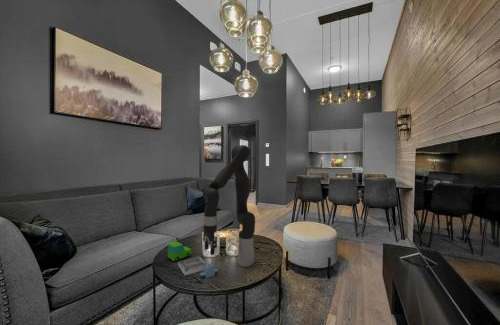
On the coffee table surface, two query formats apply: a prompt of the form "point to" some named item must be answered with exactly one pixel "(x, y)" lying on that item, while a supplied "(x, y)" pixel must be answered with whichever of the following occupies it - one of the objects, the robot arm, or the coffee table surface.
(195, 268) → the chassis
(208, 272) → the block
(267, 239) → the coffee table surface
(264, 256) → the coffee table surface
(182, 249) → the toy car
